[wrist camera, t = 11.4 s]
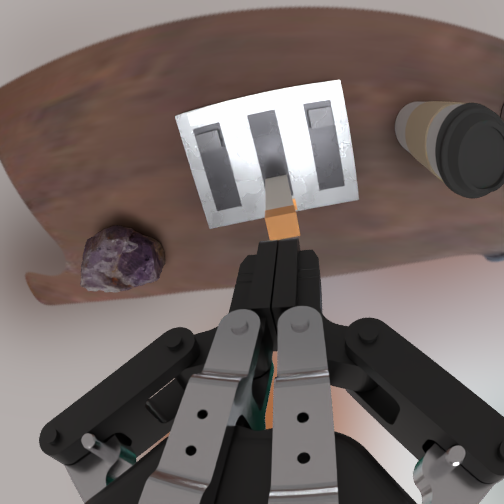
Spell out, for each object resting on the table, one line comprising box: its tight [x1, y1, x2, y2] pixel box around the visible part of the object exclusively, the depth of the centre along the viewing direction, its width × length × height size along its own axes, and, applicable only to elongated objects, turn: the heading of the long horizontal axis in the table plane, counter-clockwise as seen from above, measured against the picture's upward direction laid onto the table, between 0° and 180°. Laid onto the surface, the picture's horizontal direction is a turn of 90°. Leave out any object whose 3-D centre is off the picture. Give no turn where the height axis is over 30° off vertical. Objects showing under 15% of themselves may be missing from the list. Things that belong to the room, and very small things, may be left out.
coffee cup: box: [395, 101, 504, 198], centre depth 27 cm, size 9×9×15 cm
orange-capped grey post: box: [265, 175, 300, 240], centre depth 31 cm, size 2×2×11 cm
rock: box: [80, 225, 165, 292], centre depth 40 cm, size 12×9×10 cm
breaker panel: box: [175, 80, 359, 229], centre depth 35 cm, size 18×14×4 cm
